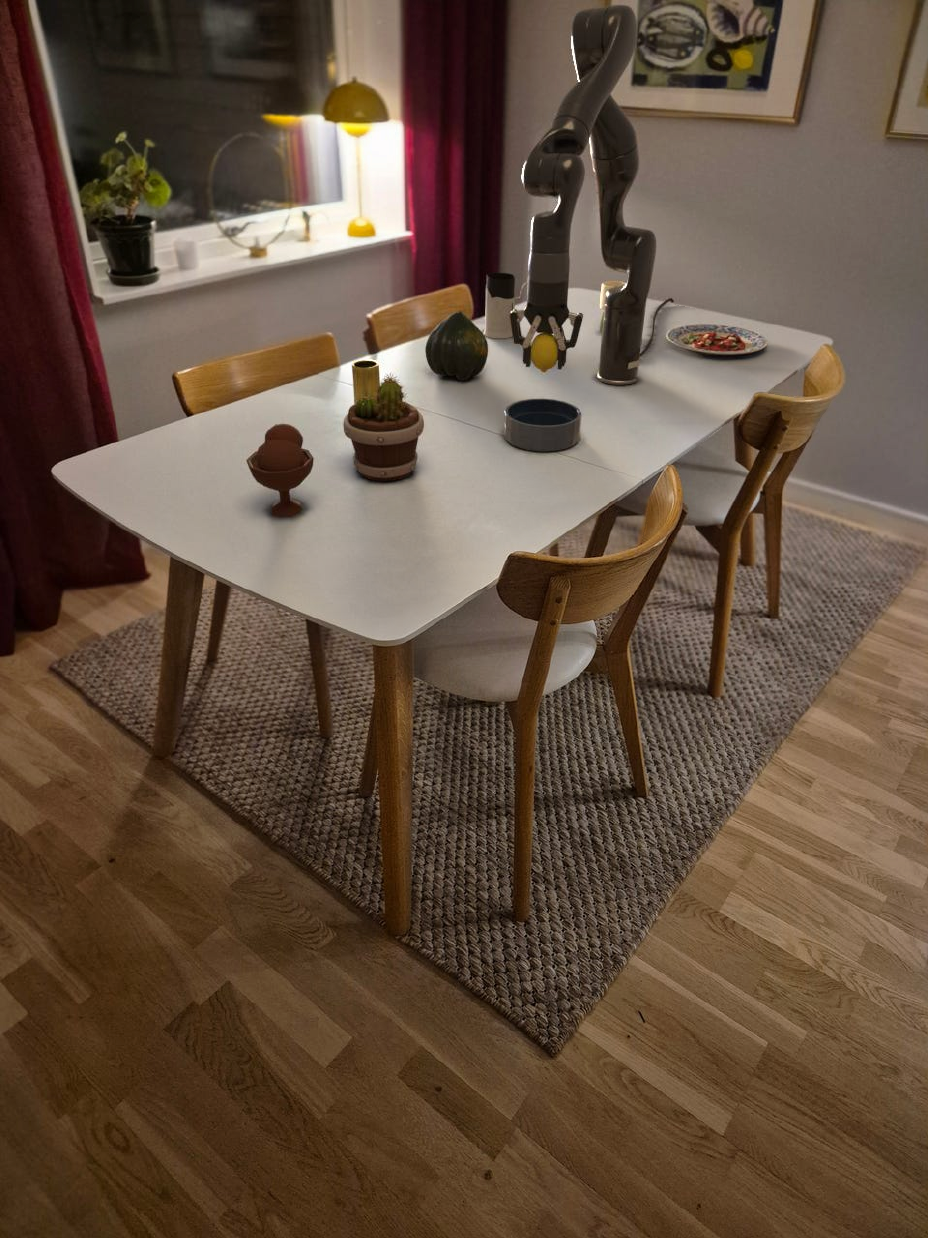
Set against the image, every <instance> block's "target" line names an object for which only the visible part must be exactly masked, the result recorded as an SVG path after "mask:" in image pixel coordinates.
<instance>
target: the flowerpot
mask: <svg viewBox="0 0 928 1238" xmlns="http://www.w3.org/2000/svg"><path fill="white" fill-rule="evenodd" d="M393 376H394V374H392V372H390V374H386V375H384V378H382V380H380V381H379V382H380V384H379V387H378V386H377V385H375V387H376V386H377V388H375V390H376V391H377V392H375V391H374V392H375V393H378V394H377V396H376V395H374V396H373V397H372V398H370V397H371V396H370V397H368V396H367V394H368V392H367V394H366V393H365V396H366V397H365V396H364V398H361V399H359V397H361V396H359V397H358V399H359V400H358V399H357V404H354V403H353V404H352V405H350V407H349V408H348V410H347V414H346V415H345V417H344V419H343V424H342V425H343V433H344V435H345V436H346V437H347V438H348V439H349V440H351V444H352V447H353V450H354V454H353V456H352V459H353V463H354V468H355V469H356V470H357V471H358V472H359V473H360V474H361V475H362V477H363V478H365V479H368V480H371V481H374V482H375V481H376V482H390V481H391V482H392V481H396V480H403V479H405V478H407V477H408V476H410V475H411V474H412V472H413V470H414V469H415V468H416V466H417V462H418V458H419V457H418V456H419V455H418V452H417V446H418V442H419V441H418V440H419V437H420V436H421V435H422V434H423V432H424V429H425V420H424V416H423V414H422V412H420V411H419V410H418V409H417V408H416V407H415V406H413V405H412V404H410V403H408V402H406V399H407V398H408V393H406V391H405V390H406V387H404V386H403V385H402V382H399V381H400V379H397V377H396V376H394V377H393ZM400 383H401V384H400ZM373 390H374V389H373ZM362 394H363V393H362ZM363 395H364V394H363ZM406 395H407V396H406ZM373 398H374V399H373ZM376 398H377V399H376ZM404 400H405V401H404ZM355 401H356V400H355Z"/></svg>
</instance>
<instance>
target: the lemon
mask: <svg viewBox="0 0 928 1238" xmlns="http://www.w3.org/2000/svg"><path fill="white" fill-rule="evenodd" d="M558 351H559V345H558V342H557V340H556V339H555V336H554V334H549V333H546V332H543V333H538V334H537V335H536V336H535V337H533V339H532V341H531V351H530V356H531V364H533V366H534V367H535V368H536V369H538V370H540V372H542V373H546V372H547V371H548V370H551V369H552V368H554V367H555V365H556V364H558Z"/></svg>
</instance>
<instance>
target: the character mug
mask: <svg viewBox="0 0 928 1238" xmlns="http://www.w3.org/2000/svg"><path fill="white" fill-rule="evenodd" d="M626 283H627V282H624V281H617V280H609V281H604V282H602V283H601V290H600V299H599V300H600V301H599V308H600V309H601V310H603V312H602V315H601V319H600V325H599V330H598V332H600V333H602V329H603V319H604V308H605V297H606V293H607V291H608V290H609V289H611V288H614V287H619V286H623V285H625V284H626Z"/></svg>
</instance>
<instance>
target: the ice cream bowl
mask: <svg viewBox="0 0 928 1238" xmlns="http://www.w3.org/2000/svg"><path fill="white" fill-rule="evenodd" d="M303 443H304V436H303V435H302V434H301V432H300V430H299V429H297V428H296V427H295V426H293V425H291V424H289V423H276V424H274V425H273V426H271V427H270V428H269V429H267V430H266V432H265V434H264V442H262V443H261V444H260V445H259V447H258V448H257V451H254V452H253V453H252V454H251V455H250V456H249V457H248V458H247V459H245V461H246V464H247V466H248V469H249V471H250V474H251V475H252V477H253V478H254V480H255V481H256V483H258V484H259V485H261V486H263V487H265V488H267V489H270V490H273V491H276V492H278V493H279V500H278V501H276V502H274V503H273V505H271V507H270V513H271V515H272V516H276V517H279V518H290V517H294V516H297V515H299V514H301V512H302V511H303V509H304V508H303V506H302V504H301V502H299V501H297V500H294V499H291V490H293V489H296V488H297V487H298V486H300V485H301V484H302V483H303V482H304V481H305V479H306V478H307V477H308V476H309V475H310V474H311V472H312V470H313V467H314V461H315V459H314V458H315V457H314V456H313V454H312V453H311V451H310V450H309V449H305V448H302V447H303Z"/></svg>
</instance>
